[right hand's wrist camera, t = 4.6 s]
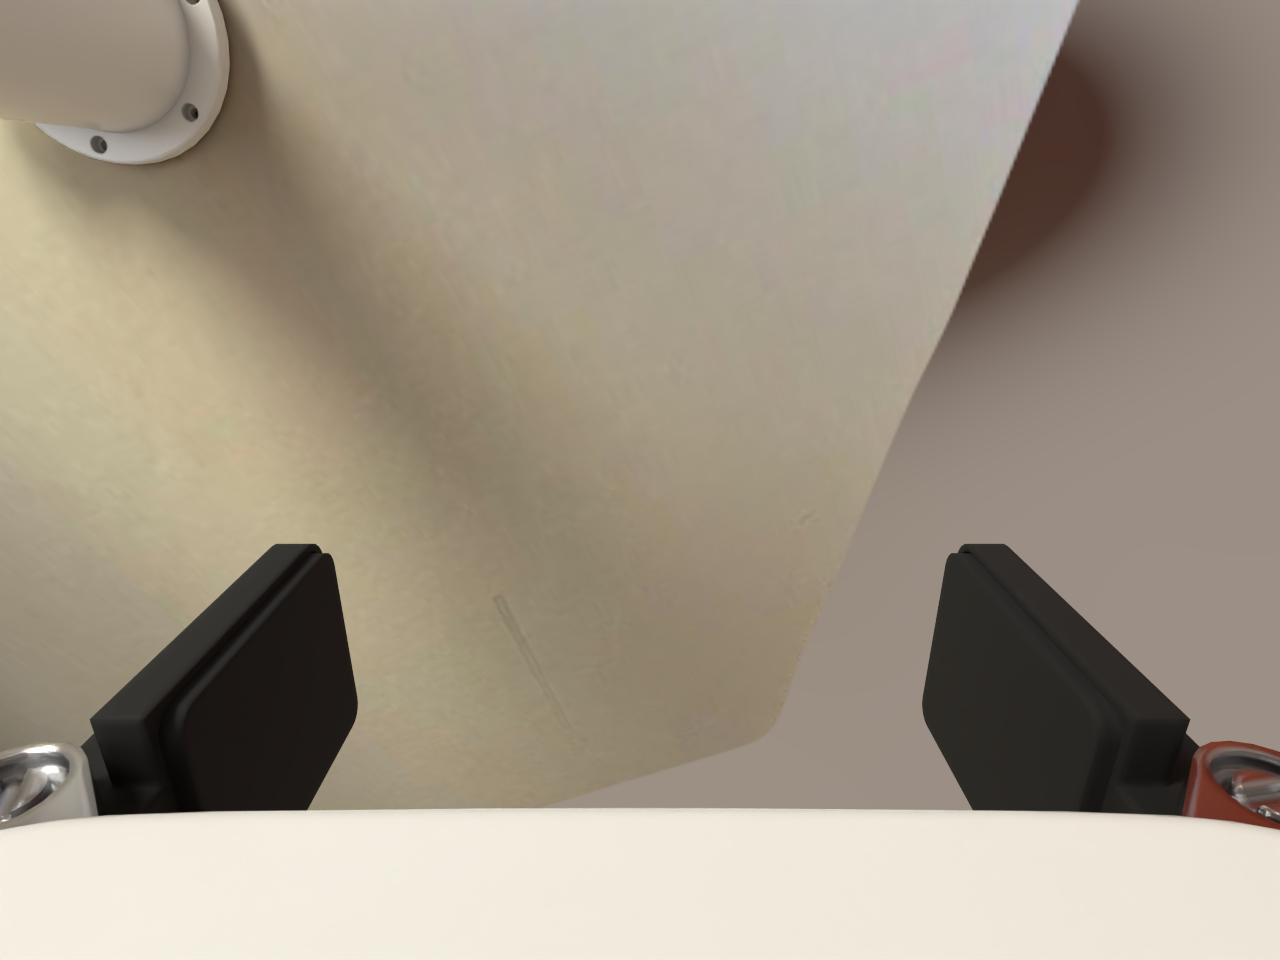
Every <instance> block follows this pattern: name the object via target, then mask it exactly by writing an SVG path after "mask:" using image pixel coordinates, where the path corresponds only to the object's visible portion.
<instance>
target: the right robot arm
mask: <svg viewBox="0 0 1280 960" xmlns="http://www.w3.org/2000/svg"><path fill="white" fill-rule="evenodd" d="M229 69H230V59H229V41H228V36H227V31H226V27H225V22H224V18H223V14H222V11H221V8H220V6H219V3H218V1H217V0H200V1H199V2H198V0H0V118H1V119H9V120H18V121H26V122H32V123H33V124H35V125H36V126H37V127H38V128H40V129H41V130H42V131H43V132H44V133H46V134H47V135H48V136H49V137H51V138H52V139H54V140H56V141H57V142H59V143H61V144H63V145H64V146H66V147H68V148H69V149H71V150H73V151H76V152H78V153H81V154H83V155H86V156H88V157H91V158H93V159H97V160H102V161H107V162H112V163H117V164H135V165H140V164H149V163H158V162H161V161H164V160H167V159H170V158H173V157H176V156H178V155H180V154H182V153H183V152H185V151H186V150H188V149H189V148H191V147H192V146H194V145H195V144H196V143H197V142H198V141H199V140H200V139H201V138H202V137H203V136H204V135H205V134H206V133H207V132H208V131H209V129H210V128H211V126H212V124H213V123H214V121H215V119H216V117H217V116H218V114H219V112H220V110H221V107H222V104H223V101H224V98H225V94H226V91H227V86H228V77H229ZM196 110H198V118H197V117H196V114H195V112H196ZM106 144H107V146H106ZM357 708H358V701H357V693H356V687H355V682H354V676H353V670H352V664H351V658H350V653H349V647H348V641H347V635H346V629H345V624H344V618H343V612H342V606H341V600H340V595H339V589H338V583H337V577H336V571H335V565H334V561H333V558H332V557H331V555H330V554H329V553H322V551H321V549H320V548H319V546H317V545H316V544H275V545H274V546H272V547H271V548H270V549H269V550H268V551H267V552H266V553H265V554H264V555H262V556H261V557H260V558H259V559H258V560H257V561H256V562H255V563H254V564H253V565H252V566H251V567H250V568H249V569H248V570H247V571H246V572H245V573H244V574H242V575H241V576H240V577H239V578H238V579H237V580H236V581H235V582H234V583H233V584H232V585H231V586H230V587H229V588H228V589H227V590H226V591H225V592H224V593H222V594H221V595H220V596H219V597H218V598H217V599H216V600H215V601H214V602H213V603H212V604H211V605H210V606H209V607H208V608H207V609H206V610H205V611H203V612H202V613H201V614H200V615H199V616H198V617H197V618H196V619H195V620H194V621H193V622H192V623H191V624H190V625H189V626H188V627H187V628H186V629H185V630H183V631H182V632H181V633H180V634H179V635H178V636H177V637H176V638H175V639H174V640H173V641H172V642H171V643H170V644H169V645H168V646H167V647H166V648H164V649H163V650H162V651H161V652H160V653H159V654H158V655H157V656H156V657H155V658H154V659H153V660H152V661H151V662H150V663H149V664H148V665H147V666H146V667H144V668H143V669H142V670H141V671H140V672H139V673H138V674H137V675H136V676H135V677H134V678H133V679H132V680H131V681H130V682H129V683H128V684H127V685H126V686H124V687H123V688H122V689H121V690H120V691H119V692H118V693H117V694H116V695H115V696H114V697H113V698H112V699H111V700H110V701H109V702H108V703H107V704H105V705H104V706H103V707H102V708H101V709H100V710H99V711H98V712H97V713H96V714H95V715H94V716H93V717H92V718H91V719H90V722H91V725H92V728H93V730H94V734H93V735H92V736H91V737H90V738H89V739H88V740H87V741H86V742H85V743H84V744H83V745H82V746H81V747H79V746H76V745H74V744H72V743H69V742H58V741H46V742H39V743H32V744H26V745H23V746H19V747H16V748H12V749H9V750H5V751H2V752H0V960H1280V752H1278V751H1275V750H1271V749H1268V748H1264V747H1261V746H1257V745H1254V744H1248V743H1241V742H1234V741H1222V742H1211V743H1208V744H1206V745H1204V746H1201V747H1199V746H1198V745H1197V744H1196V743H1195V742H1194V741H1193V740H1192V739H1191V738H1190V737H1189V736H1188V735H1187V734H1186V730H1187V727H1188V725H1189V722H1190V719H1189V718H1188V717H1187V716H1186V715H1185V714H1184V713H1183V712H1182V711H1181V710H1180V709H1179V708H1178V707H1177V706H1176V705H1174V704H1173V703H1172V702H1171V701H1170V700H1169V699H1168V698H1167V697H1166V696H1165V695H1164V694H1163V693H1162V692H1161V691H1160V690H1159V689H1158V688H1157V687H1156V686H1154V685H1153V684H1152V683H1151V682H1150V681H1149V680H1148V679H1147V678H1146V677H1145V676H1144V675H1143V674H1142V673H1141V672H1140V671H1139V670H1138V669H1137V668H1135V667H1134V666H1133V665H1132V664H1131V663H1130V662H1129V661H1128V660H1127V659H1126V658H1125V657H1124V656H1123V655H1122V654H1121V653H1120V652H1119V651H1118V650H1117V649H1115V648H1114V647H1113V646H1112V645H1111V644H1110V643H1109V642H1108V641H1107V640H1106V639H1105V638H1104V637H1103V636H1102V635H1101V634H1100V633H1099V632H1098V631H1096V630H1095V629H1094V628H1093V627H1092V626H1091V625H1090V624H1089V623H1088V622H1087V621H1086V620H1085V619H1084V618H1083V617H1082V616H1081V615H1080V614H1079V613H1078V612H1077V611H1075V610H1074V609H1073V608H1072V607H1071V606H1070V605H1069V604H1068V603H1067V602H1066V601H1065V600H1064V599H1063V598H1062V597H1061V596H1060V595H1059V594H1058V593H1056V592H1055V591H1054V590H1053V589H1052V588H1051V587H1050V586H1049V585H1048V584H1047V583H1046V582H1045V581H1044V580H1043V579H1042V578H1041V577H1040V576H1038V574H1036V573H1035V572H1034V571H1033V570H1032V569H1031V568H1030V567H1029V566H1028V565H1027V564H1026V563H1025V562H1024V561H1023V560H1022V559H1021V558H1020V557H1019V556H1018V555H1016V554H1015V553H1014V552H1013V551H1012V550H1011V549H1010V548H1009V547H1008V546H1006V545H1005V544H964V545H963V546H961V548H960V549H959V551H958V553H951V554H950V555H949V557H948V558H947V561H946V565H945V571H944V577H943V583H942V589H941V595H940V600H939V606H938V612H937V618H936V624H935V629H934V635H933V641H932V647H931V653H930V659H929V664H928V670H927V676H926V682H925V687H924V693H923V701H922V708H923V715H924V719H925V722H926V724H927V726H928V728H929V730H930V732H931V734H932V736H933V737H934V739H935V741H936V743H937V745H938V747H939V749H940V750H941V752H942V754H943V756H944V758H945V759H946V761H947V763H948V765H949V767H950V769H951V771H952V772H953V774H954V776H955V778H956V780H957V782H958V784H959V785H960V787H961V789H962V791H963V793H964V795H965V796H966V798H967V800H968V802H969V804H970V806H971V807H972V809H973V810H866V809H756V808H755V809H753V808H493V809H406V810H314V811H307V809H308V807H309V806H310V804H311V802H312V800H313V798H314V796H315V795H316V793H317V791H318V789H319V787H320V785H321V784H322V782H323V780H324V778H325V776H326V774H327V772H328V771H329V769H330V767H331V765H332V763H333V761H334V760H335V758H336V756H337V754H338V752H339V750H340V749H341V747H342V745H343V743H344V741H345V739H346V738H347V736H348V734H349V732H350V730H351V728H352V726H353V724H354V722H355V719H356V715H357Z"/></svg>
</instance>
